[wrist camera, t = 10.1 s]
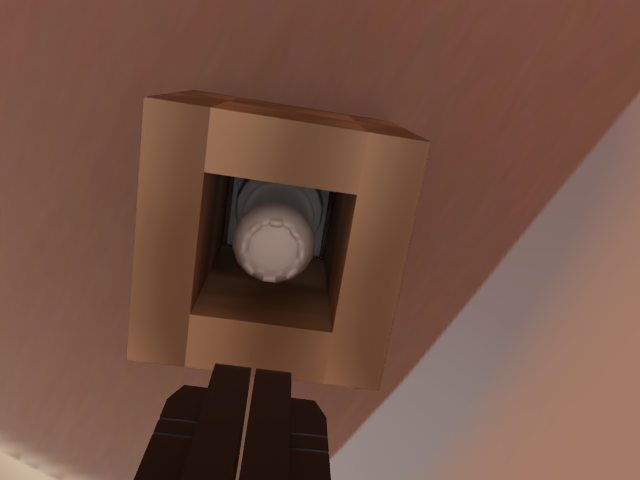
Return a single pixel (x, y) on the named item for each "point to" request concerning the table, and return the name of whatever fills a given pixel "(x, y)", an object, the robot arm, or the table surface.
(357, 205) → the socket block
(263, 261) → the rook chess piece
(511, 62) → the table surface
